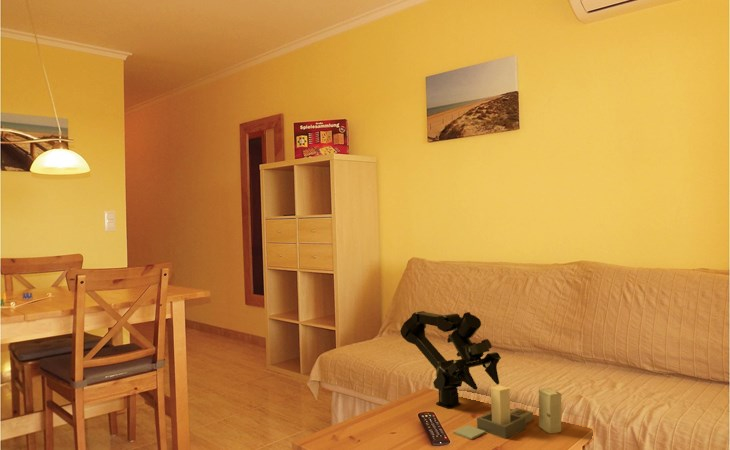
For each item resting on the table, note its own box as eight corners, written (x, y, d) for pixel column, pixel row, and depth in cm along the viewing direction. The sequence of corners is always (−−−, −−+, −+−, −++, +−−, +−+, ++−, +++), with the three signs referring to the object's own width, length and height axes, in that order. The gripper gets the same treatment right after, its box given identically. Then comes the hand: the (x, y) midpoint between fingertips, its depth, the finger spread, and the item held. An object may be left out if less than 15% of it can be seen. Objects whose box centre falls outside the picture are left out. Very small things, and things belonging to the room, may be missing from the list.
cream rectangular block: (492, 428, 171) (490, 387, 171) (501, 425, 173) (500, 384, 173) (501, 432, 168) (499, 390, 167) (510, 429, 170) (509, 388, 169)
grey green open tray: (477, 428, 171) (477, 417, 171) (511, 413, 183) (511, 403, 183) (505, 438, 163) (505, 427, 163) (539, 421, 175) (539, 411, 175)
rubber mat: (453, 433, 168) (453, 431, 168) (467, 426, 173) (467, 424, 173) (471, 439, 163) (471, 437, 163) (485, 433, 168) (485, 431, 168)
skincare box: (538, 427, 171) (537, 388, 170) (550, 424, 172) (549, 386, 172) (550, 434, 165) (549, 394, 165) (562, 432, 166) (561, 392, 166)
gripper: (452, 336, 175) (476, 378, 165) (496, 328, 184) (521, 367, 175) (438, 355, 182) (460, 397, 172) (481, 346, 191) (504, 386, 182)
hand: (487, 386), depth 175 cm, fingers open, 9 cm apart
